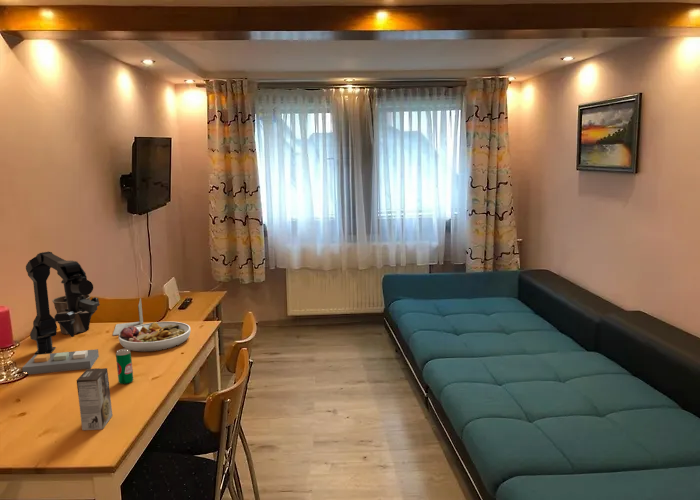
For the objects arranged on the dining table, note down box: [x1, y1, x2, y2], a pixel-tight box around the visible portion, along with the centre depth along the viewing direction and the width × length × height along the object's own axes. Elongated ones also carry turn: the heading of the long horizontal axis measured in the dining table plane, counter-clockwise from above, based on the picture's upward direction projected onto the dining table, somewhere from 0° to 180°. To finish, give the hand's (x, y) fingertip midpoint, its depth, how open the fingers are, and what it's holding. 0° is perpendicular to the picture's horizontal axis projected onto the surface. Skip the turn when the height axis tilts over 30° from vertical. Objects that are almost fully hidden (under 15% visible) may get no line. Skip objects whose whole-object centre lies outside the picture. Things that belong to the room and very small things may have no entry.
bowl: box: [118, 321, 191, 352], centre depth 250 cm, size 30×30×8 cm
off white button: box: [73, 349, 89, 359], centre depth 226 cm, size 4×4×3 cm
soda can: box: [115, 348, 134, 385], centre depth 205 cm, size 5×5×12 cm
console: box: [22, 349, 100, 375], centre depth 224 cm, size 14×24×3 cm, turn 102°
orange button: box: [34, 353, 51, 362], centre depth 223 cm, size 4×4×3 cm
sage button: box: [54, 351, 70, 361], centre depth 224 cm, size 4×4×3 cm
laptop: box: [112, 297, 144, 336], centre depth 269 cm, size 18×12×13 cm
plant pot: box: [52, 294, 91, 335], centre depth 268 cm, size 16×16×16 cm
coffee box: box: [76, 367, 113, 431], centre depth 173 cm, size 9×6×16 cm
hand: (80, 333), depth 221 cm, fingers open, 9 cm apart
